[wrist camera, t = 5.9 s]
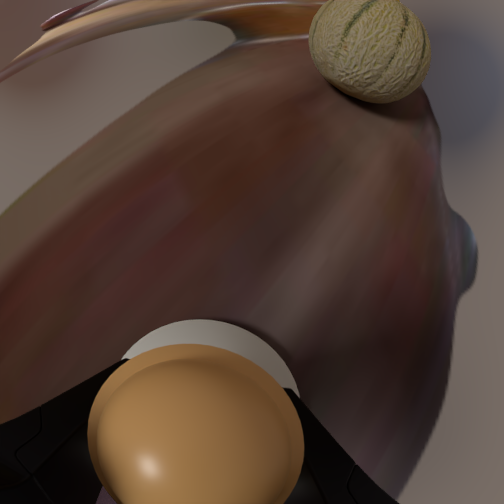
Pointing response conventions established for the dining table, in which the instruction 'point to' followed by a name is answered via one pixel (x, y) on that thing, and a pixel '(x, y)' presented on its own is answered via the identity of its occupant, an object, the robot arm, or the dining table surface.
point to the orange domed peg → (194, 430)
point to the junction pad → (218, 345)
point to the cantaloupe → (370, 48)
